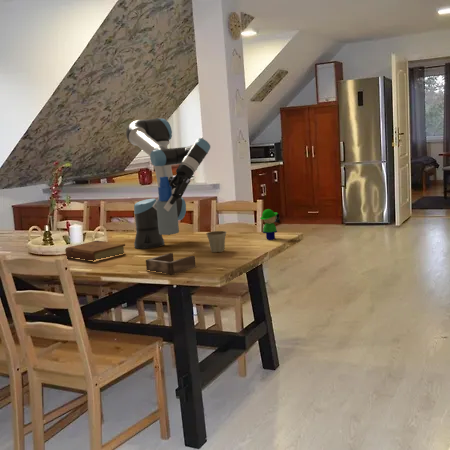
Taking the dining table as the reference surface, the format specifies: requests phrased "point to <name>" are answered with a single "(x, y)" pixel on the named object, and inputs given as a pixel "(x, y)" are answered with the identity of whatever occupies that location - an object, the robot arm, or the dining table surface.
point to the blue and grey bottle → (165, 218)
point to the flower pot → (216, 240)
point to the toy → (270, 223)
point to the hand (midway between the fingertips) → (160, 208)
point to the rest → (170, 264)
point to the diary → (95, 250)
